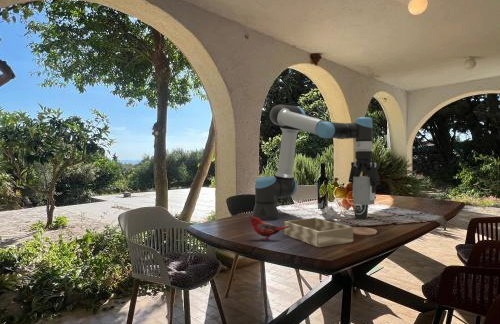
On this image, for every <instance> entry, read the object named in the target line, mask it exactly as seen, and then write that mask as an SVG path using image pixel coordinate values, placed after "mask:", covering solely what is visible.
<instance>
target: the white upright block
mask: <svg viewBox="0 0 500 324" xmlns="http://www.w3.org/2000/svg"><path fill="white" fill-rule="evenodd" d="M370 185H371V183H370V178H368V176H365V175H360V176H359V177H355V176H354V177H353V190H352V194H353V195H352V198H353V199H352V203H353V205H354V204H361V205H368V206H369V205H370V206H371V205H375V200H370Z"/></svg>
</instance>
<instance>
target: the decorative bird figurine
mask: <svg viewBox="0 0 500 324" xmlns="http://www.w3.org/2000/svg"><path fill="white" fill-rule="evenodd" d="M249 222H250V223H251V226H252V227H253V228H252V229H253V230H254V232H255V233H256V234H257V235H259V236H262V237H263V238H260V240H262V241H265V240H266V241H269V240H270V237H271V236H274V235H276V234H278V233H279V232H281V231H282V230H284V229H285V228H288V227H290V226H286V227H284V226H280V227H279V226H277V225H275V224H272V223H268V222H266V221H264V220H260V219H259V218H257V217H251V219H250V220H249V221H248V223H249Z"/></svg>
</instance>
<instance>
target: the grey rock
mask: <svg viewBox="0 0 500 324" xmlns="http://www.w3.org/2000/svg"><path fill="white" fill-rule="evenodd" d="M338 213H339V212H338V211H336V210H335V209H334V208H333V205H331V206H329V207H328V206H323V210H322V212H321V214H319V215H320V216H321V217H323V218H324V220H327V221H334V222H335V218H336V216H337V214H338Z"/></svg>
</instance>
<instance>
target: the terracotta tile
mask: <svg viewBox="0 0 500 324" xmlns="http://www.w3.org/2000/svg"><path fill="white" fill-rule="evenodd" d="M377 234H378V230H377V229H375V228H371V227H364V226H357V227H353V235H361V236H374V235H377Z"/></svg>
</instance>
